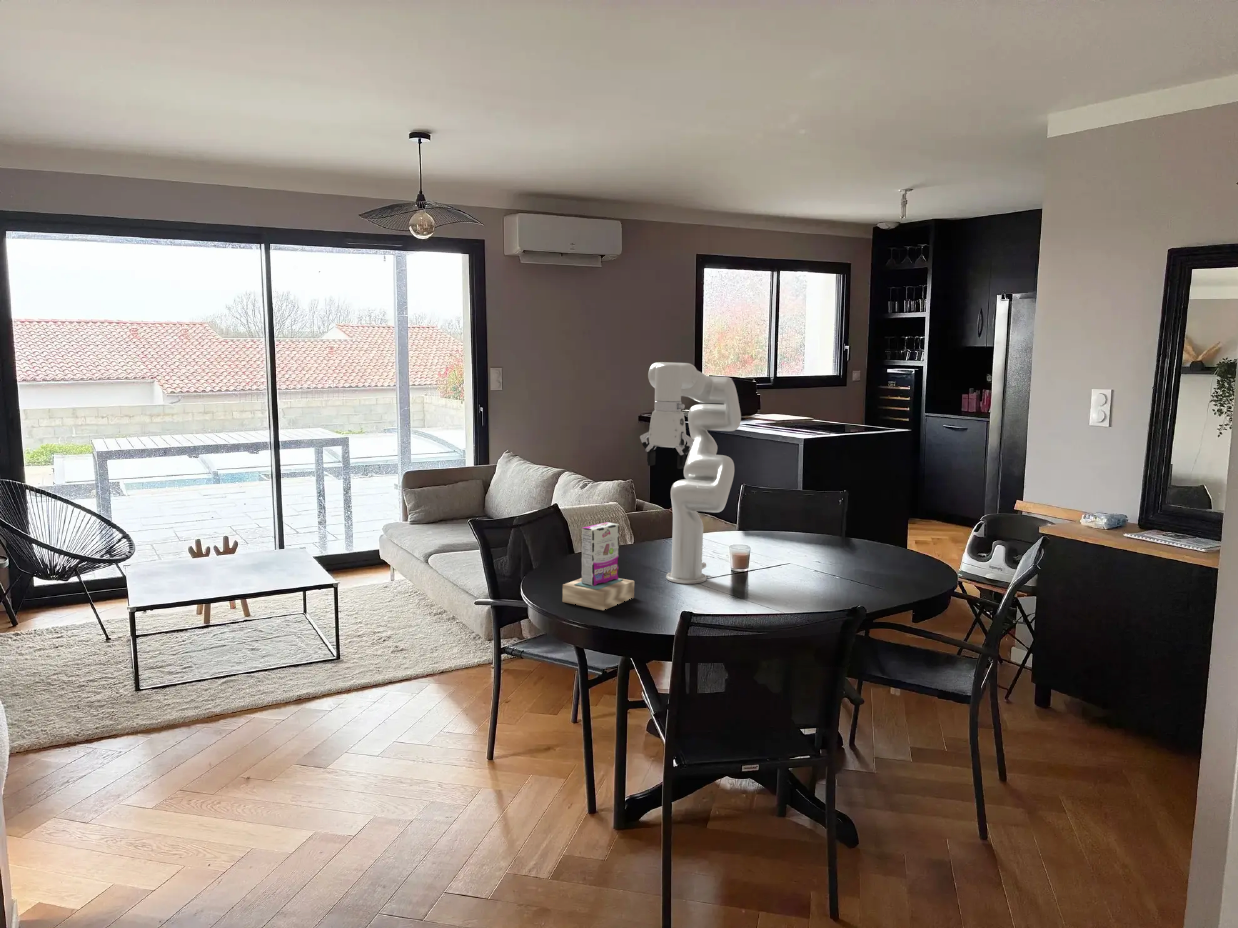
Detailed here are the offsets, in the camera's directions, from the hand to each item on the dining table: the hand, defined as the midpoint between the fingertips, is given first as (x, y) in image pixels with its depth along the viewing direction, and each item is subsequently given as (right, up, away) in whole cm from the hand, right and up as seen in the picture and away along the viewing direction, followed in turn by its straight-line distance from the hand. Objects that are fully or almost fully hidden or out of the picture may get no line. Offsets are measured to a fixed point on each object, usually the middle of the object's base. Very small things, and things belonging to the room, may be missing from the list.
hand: (665, 466), depth 264 cm
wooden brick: (-19, -38, 0) cm, 43 cm away
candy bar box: (-19, -33, 0) cm, 38 cm away
